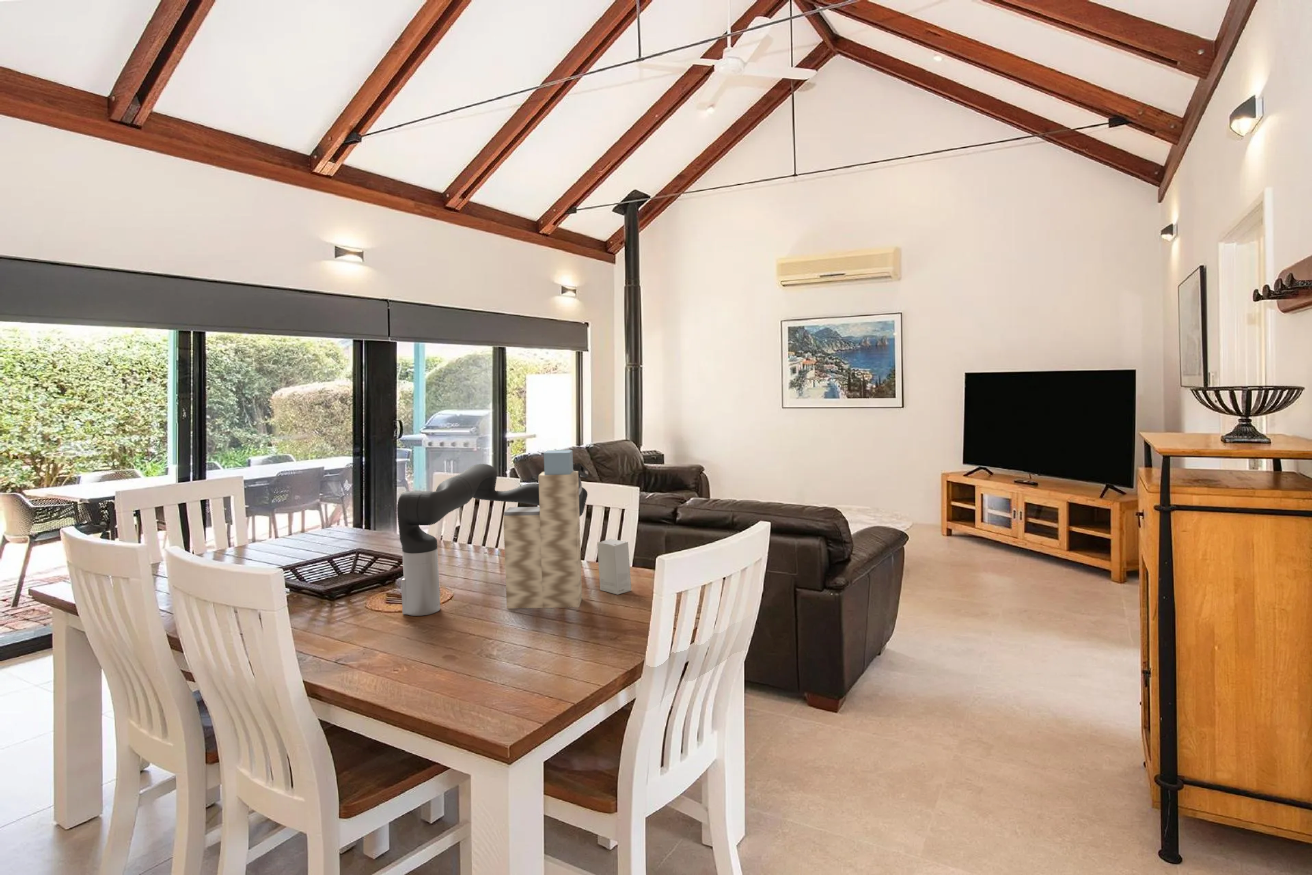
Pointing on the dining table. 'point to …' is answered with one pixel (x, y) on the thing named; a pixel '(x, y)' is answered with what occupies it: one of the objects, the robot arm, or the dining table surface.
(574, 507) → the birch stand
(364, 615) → the dining table surface
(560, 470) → the blue handle block
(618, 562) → the skincare box
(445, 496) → the robot arm
